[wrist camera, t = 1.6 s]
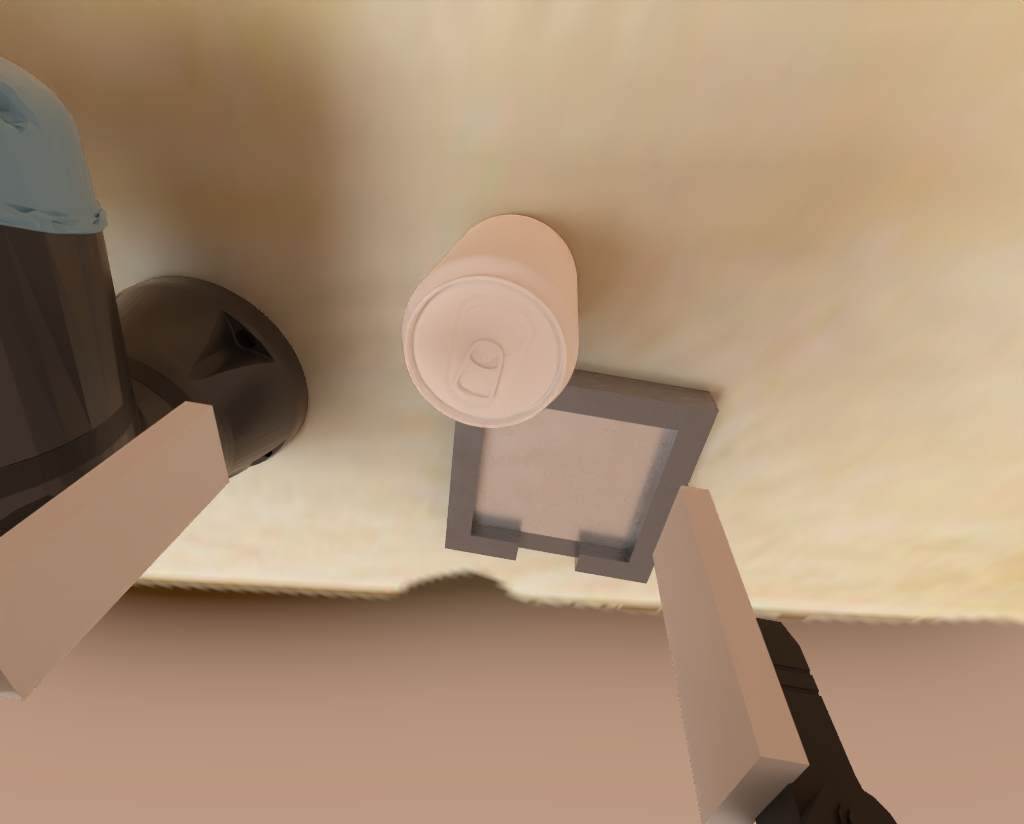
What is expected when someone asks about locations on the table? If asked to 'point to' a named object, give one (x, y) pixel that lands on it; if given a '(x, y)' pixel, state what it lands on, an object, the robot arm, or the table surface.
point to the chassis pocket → (580, 475)
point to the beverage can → (495, 324)
